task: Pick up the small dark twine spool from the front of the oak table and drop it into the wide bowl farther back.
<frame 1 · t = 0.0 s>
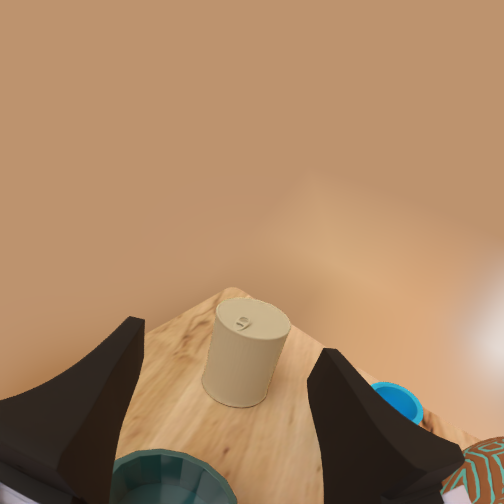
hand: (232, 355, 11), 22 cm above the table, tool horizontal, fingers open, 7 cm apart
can: (234, 384, 38), on the table
mug: (351, 441, 31), on the table
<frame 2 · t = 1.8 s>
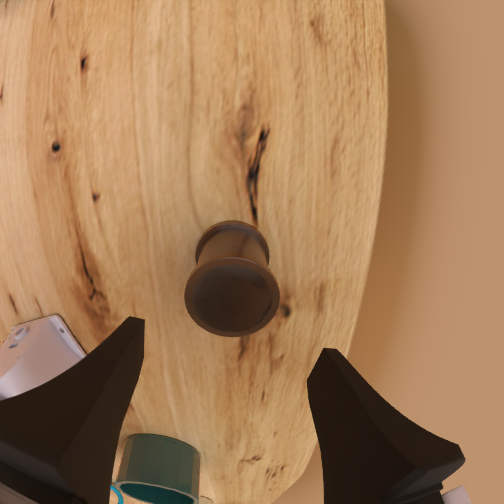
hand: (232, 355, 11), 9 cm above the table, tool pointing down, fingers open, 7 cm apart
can: (188, 499, 40), on the table
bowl: (162, 452, 31), on the table
spool: (232, 255, 20), on the table
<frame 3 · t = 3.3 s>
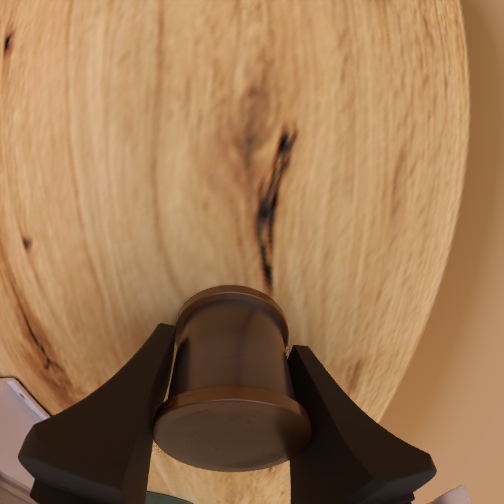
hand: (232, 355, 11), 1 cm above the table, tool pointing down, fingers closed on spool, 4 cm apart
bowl: (155, 503, 23), on the table
spool: (231, 333, 12), on the table, touching gripper
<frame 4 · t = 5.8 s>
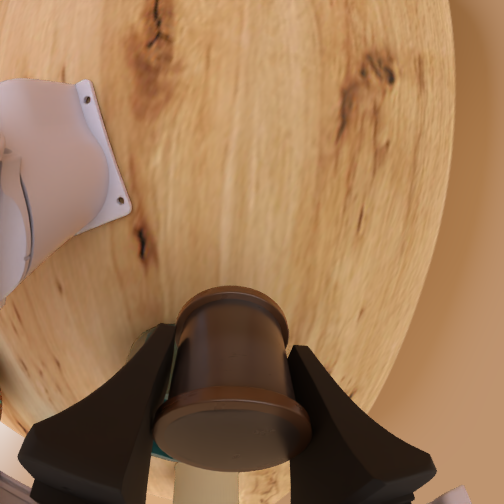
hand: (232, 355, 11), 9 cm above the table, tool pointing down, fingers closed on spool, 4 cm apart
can: (206, 469, 33), on the table
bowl: (186, 369, 24), on the table
spool: (231, 333, 12), point 8 cm above the table, touching gripper
when the fingers open (6 cm above the table, at t = 8.4 s): spool drops 4 cm, resting on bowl.
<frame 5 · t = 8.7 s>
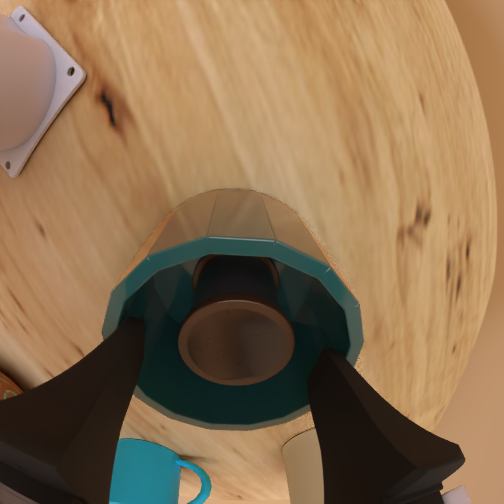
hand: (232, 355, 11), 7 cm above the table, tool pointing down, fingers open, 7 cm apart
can: (323, 443, 26), on the table
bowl: (232, 276, 17), on the table
mug: (161, 454, 26), on the table
spool: (235, 282, 17), point 1 cm above the table, touching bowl
decorative sphere: (10, 383, 22), on the table
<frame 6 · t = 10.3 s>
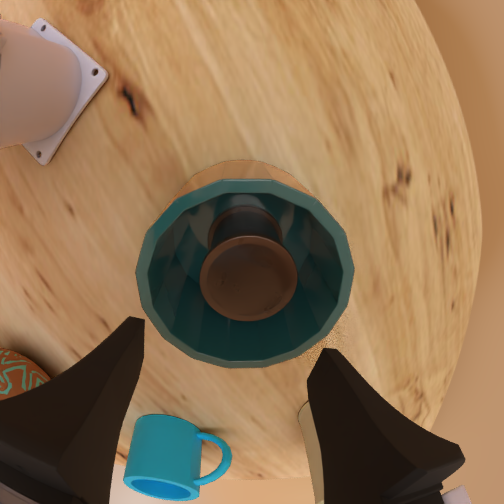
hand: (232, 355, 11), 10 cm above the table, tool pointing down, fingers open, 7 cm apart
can: (337, 408, 29), on the table
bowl: (242, 236, 20), on the table
mug: (182, 430, 29), on the table
spool: (245, 239, 19), point 1 cm above the table, touching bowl
decorative sphere: (33, 370, 25), on the table
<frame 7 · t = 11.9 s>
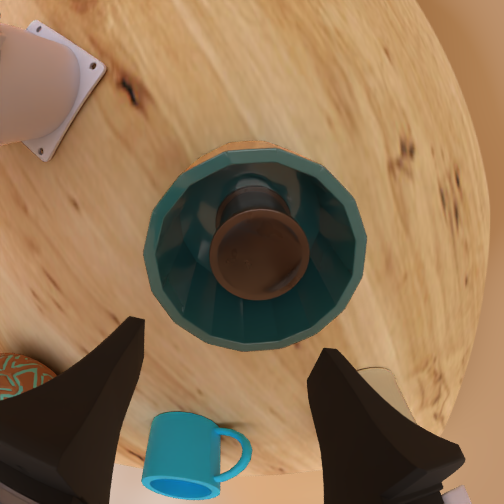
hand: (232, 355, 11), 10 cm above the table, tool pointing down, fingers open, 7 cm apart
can: (356, 394, 28), on the table
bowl: (250, 218, 20), on the table
mug: (200, 426, 29), on the table
spool: (253, 221, 19), point 1 cm above the table, touching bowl
decorative sphere: (45, 374, 26), on the table
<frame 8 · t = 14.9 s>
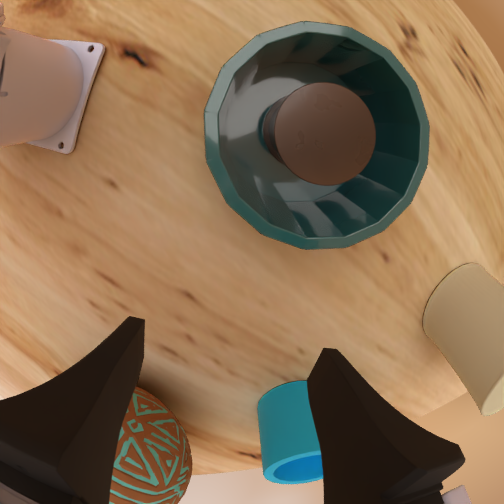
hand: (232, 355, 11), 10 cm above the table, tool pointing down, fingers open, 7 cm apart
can: (456, 302, 24), on the table
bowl: (297, 131, 18), on the table
mug: (310, 395, 28), on the table
spool: (301, 131, 17), point 1 cm above the table, touching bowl
decorative sphere: (129, 395, 27), on the table
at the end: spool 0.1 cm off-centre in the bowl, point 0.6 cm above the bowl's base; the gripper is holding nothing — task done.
